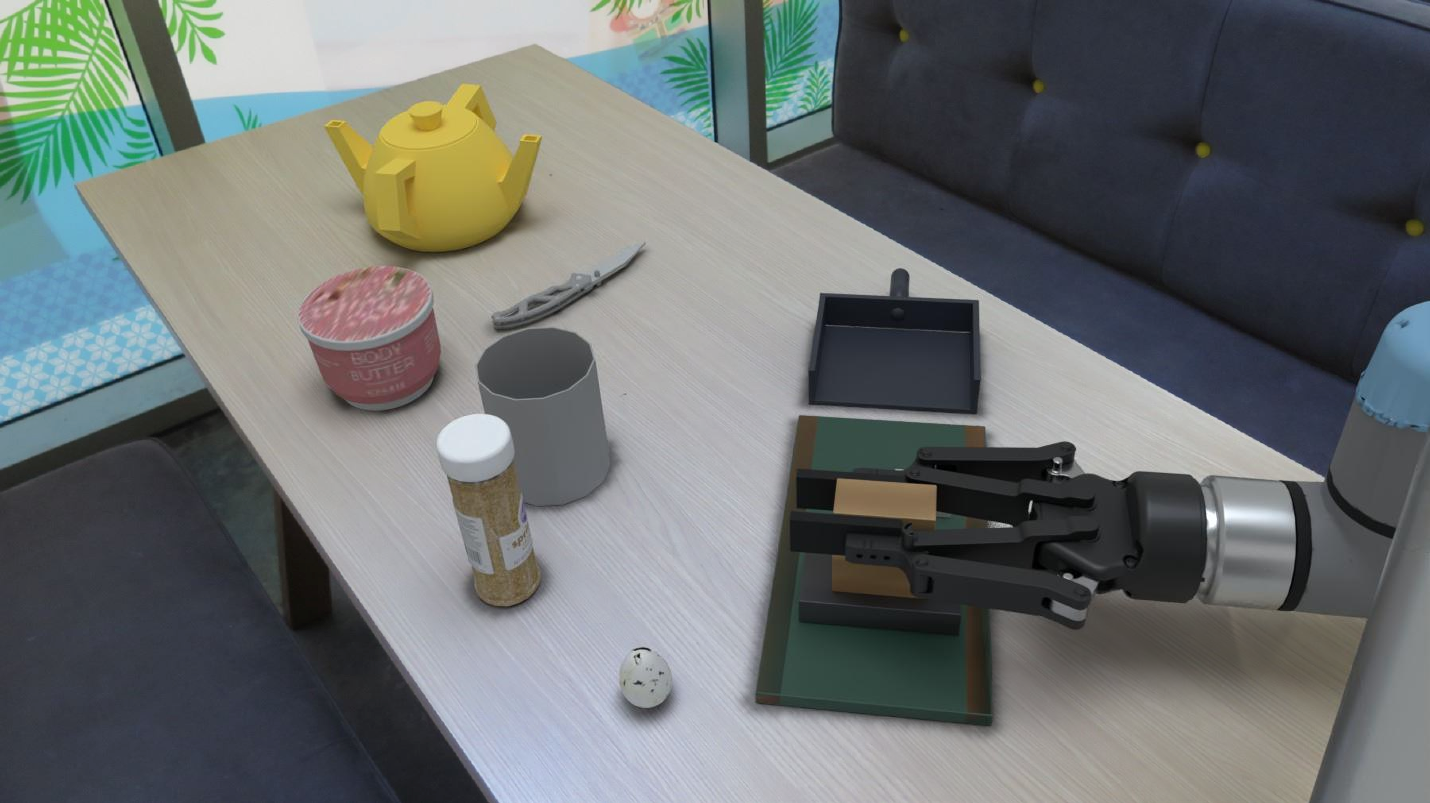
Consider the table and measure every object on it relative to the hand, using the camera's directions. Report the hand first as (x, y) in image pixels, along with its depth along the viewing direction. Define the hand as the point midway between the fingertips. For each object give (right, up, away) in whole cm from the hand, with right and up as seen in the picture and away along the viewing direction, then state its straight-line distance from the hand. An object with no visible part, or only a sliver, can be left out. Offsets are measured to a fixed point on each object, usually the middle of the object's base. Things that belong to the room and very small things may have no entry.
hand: (794, 509), depth 73 cm
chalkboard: (+6, -4, +8) cm, 11 cm away
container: (-32, +8, +26) cm, 42 cm away
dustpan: (+10, +11, +26) cm, 30 cm away
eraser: (+6, -6, +4) cm, 9 cm away
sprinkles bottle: (-19, -6, +8) cm, 21 cm away
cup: (-17, +2, +17) cm, 24 cm away
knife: (-17, +16, +35) cm, 42 cm away
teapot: (-31, +25, +46) cm, 61 cm away
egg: (-9, -12, 0) cm, 15 cm away
